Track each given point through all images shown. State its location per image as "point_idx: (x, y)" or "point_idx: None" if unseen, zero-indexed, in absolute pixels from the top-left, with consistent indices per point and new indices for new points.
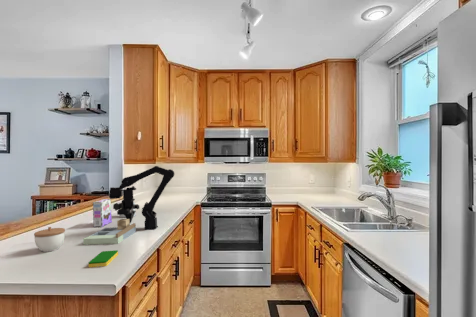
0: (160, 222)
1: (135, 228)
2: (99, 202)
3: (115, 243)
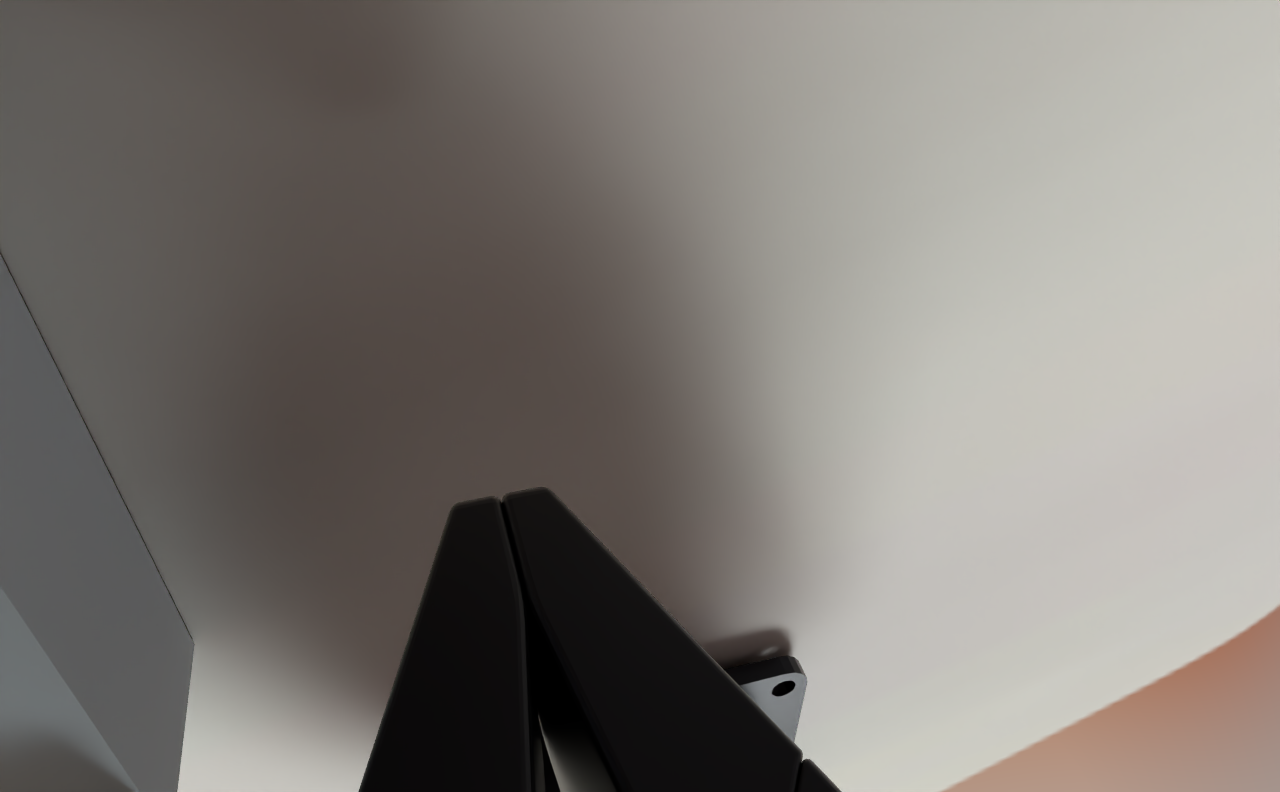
0: (1219, 629)
1: (163, 767)
2: None
3: None
